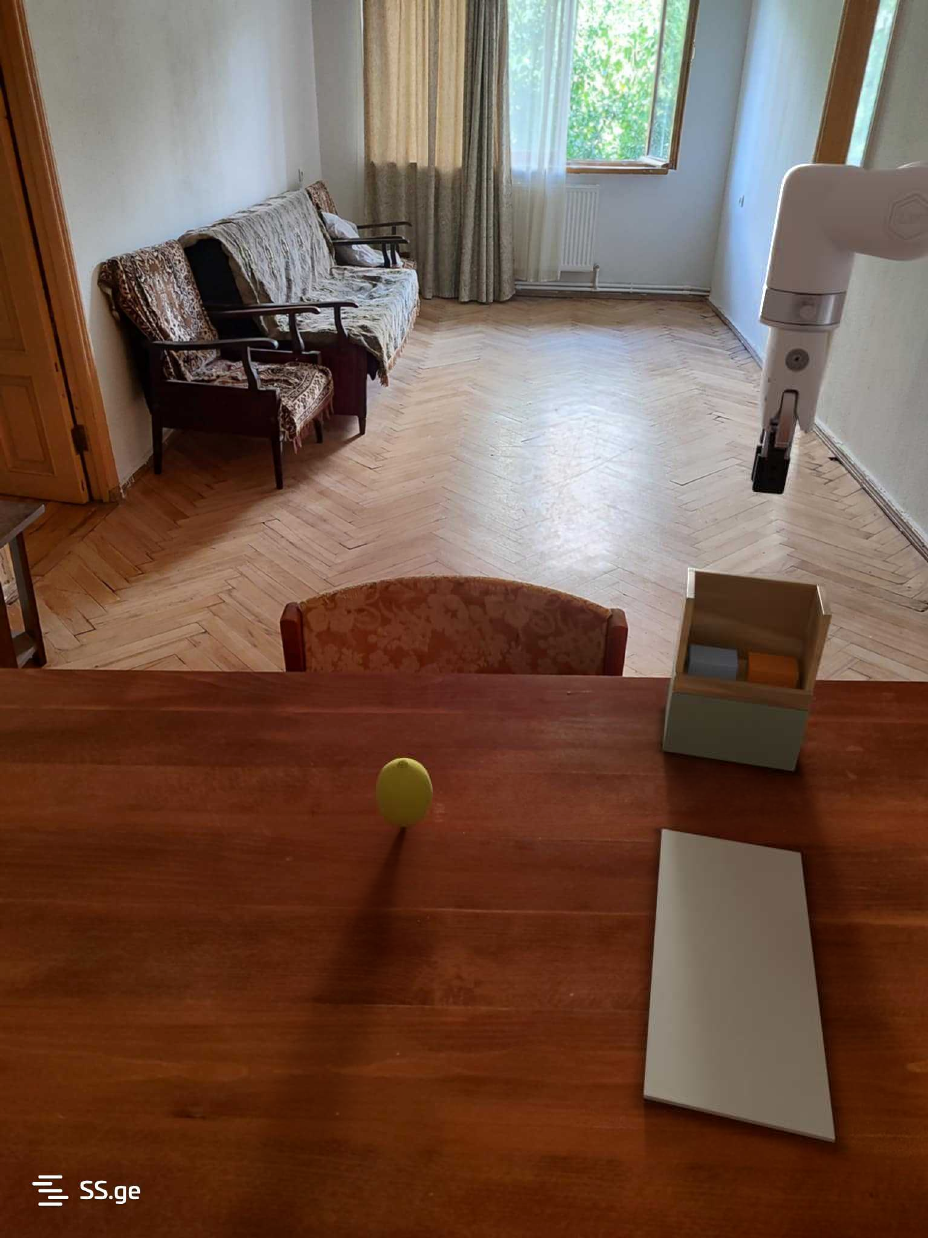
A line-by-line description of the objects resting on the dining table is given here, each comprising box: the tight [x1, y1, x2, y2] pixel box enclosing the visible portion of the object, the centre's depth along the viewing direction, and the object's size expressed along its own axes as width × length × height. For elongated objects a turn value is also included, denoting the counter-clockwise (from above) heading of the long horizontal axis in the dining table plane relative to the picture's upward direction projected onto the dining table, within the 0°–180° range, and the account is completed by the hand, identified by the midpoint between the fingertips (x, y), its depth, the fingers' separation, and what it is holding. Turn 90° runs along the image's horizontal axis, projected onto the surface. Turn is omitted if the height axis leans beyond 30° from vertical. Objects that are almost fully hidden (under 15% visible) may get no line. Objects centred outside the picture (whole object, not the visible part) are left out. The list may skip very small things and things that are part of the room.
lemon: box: [374, 757, 433, 828], centre depth 86 cm, size 6×6×8 cm
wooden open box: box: [672, 567, 833, 712], centre depth 93 cm, size 8×14×11 cm, turn 76°
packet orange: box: [745, 652, 799, 689], centre depth 95 cm, size 4×5×2 cm
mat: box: [643, 828, 836, 1143], centre depth 74 cm, size 28×13×1 cm, turn 166°
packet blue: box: [687, 644, 738, 681], centre depth 96 cm, size 4×5×2 cm
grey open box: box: [662, 654, 810, 772], centre depth 98 cm, size 8×14×8 cm, turn 76°
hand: (766, 485), depth 94 cm, fingers closed
